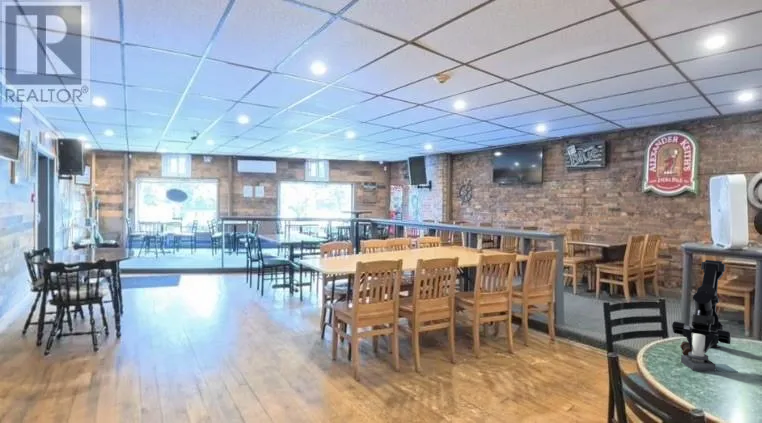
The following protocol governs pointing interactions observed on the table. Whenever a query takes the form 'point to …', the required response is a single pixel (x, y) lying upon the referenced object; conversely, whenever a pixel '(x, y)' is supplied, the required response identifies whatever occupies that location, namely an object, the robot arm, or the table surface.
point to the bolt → (685, 348)
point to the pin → (698, 348)
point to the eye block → (697, 364)
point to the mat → (724, 368)
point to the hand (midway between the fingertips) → (697, 350)
